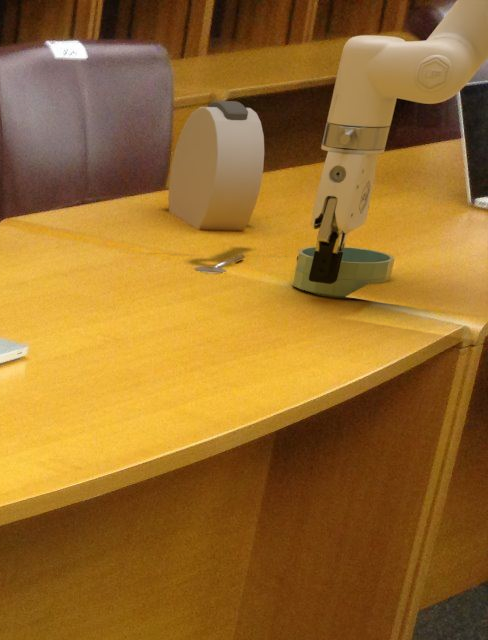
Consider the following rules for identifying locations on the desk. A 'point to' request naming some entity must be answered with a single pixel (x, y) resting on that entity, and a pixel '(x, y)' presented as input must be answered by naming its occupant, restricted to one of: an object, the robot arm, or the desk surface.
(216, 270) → the spoon
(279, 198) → the desk surface
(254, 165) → the alarm clock
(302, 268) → the bowl
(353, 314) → the desk surface
